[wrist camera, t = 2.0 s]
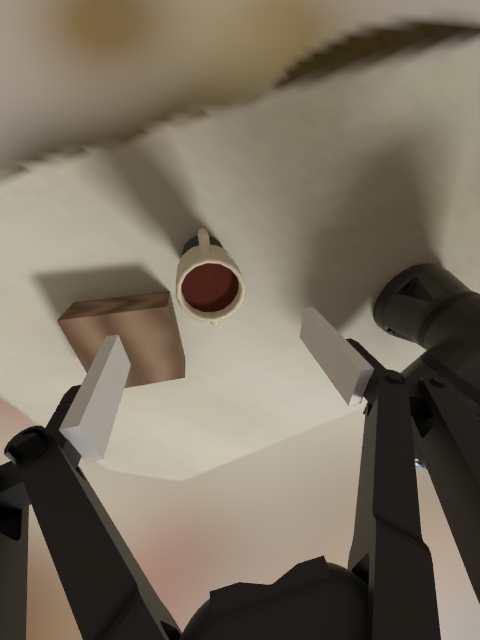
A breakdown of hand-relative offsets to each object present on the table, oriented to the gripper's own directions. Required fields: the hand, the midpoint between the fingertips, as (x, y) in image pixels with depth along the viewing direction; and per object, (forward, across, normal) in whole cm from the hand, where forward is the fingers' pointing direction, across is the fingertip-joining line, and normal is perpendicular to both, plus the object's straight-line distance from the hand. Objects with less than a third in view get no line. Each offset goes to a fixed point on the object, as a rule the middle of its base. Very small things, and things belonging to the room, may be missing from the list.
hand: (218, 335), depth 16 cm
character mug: (+21, 0, 0) cm, 21 cm away
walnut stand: (+21, +13, +12) cm, 27 cm away
